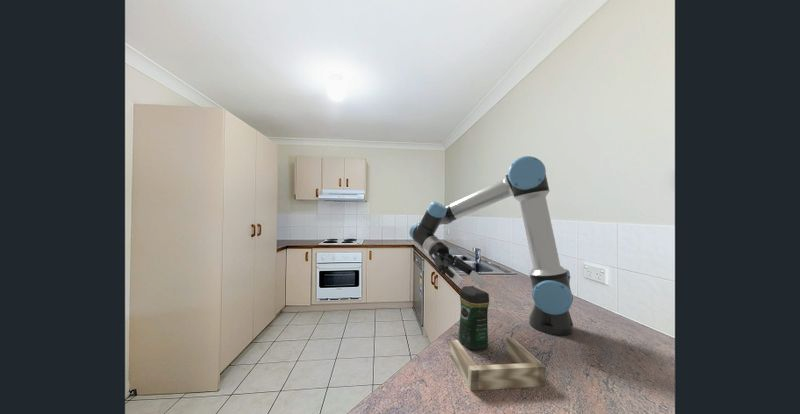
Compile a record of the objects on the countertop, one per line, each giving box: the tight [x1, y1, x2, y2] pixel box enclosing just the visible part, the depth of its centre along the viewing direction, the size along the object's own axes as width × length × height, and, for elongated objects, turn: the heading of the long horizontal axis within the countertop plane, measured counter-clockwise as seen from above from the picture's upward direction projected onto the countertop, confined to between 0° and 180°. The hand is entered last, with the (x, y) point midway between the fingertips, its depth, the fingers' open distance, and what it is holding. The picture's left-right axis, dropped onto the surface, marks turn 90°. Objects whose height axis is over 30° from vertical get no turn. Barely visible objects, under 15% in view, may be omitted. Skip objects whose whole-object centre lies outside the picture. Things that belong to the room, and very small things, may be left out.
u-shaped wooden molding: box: [449, 337, 547, 392], centre depth 80 cm, size 20×16×5 cm
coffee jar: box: [458, 285, 490, 351], centre depth 95 cm, size 10×8×19 cm
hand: (472, 283), depth 99 cm, fingers open, 13 cm apart
